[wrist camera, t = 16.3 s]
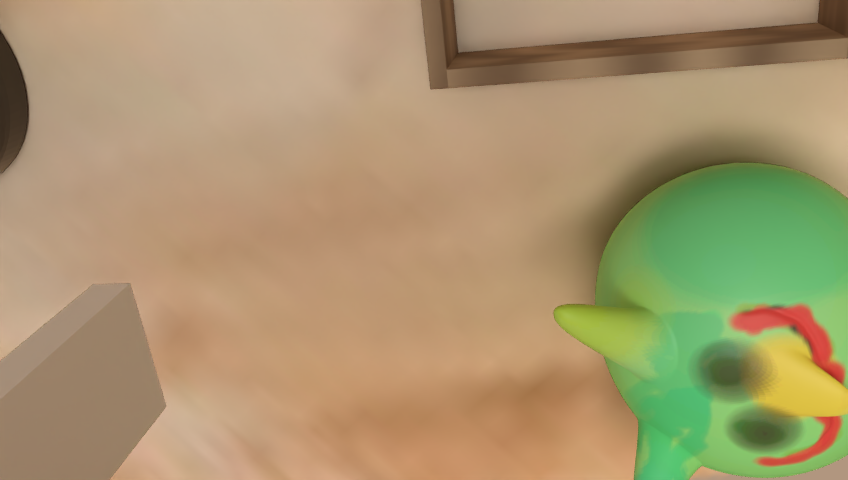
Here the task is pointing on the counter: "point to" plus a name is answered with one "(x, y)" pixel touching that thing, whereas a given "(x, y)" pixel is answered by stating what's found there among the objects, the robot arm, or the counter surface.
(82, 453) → the robot arm
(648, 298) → the toy bird
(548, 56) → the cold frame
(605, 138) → the counter surface
